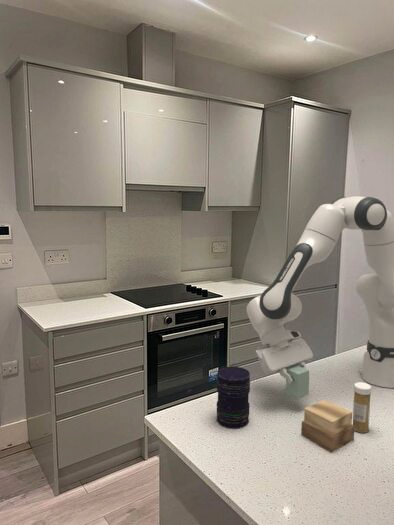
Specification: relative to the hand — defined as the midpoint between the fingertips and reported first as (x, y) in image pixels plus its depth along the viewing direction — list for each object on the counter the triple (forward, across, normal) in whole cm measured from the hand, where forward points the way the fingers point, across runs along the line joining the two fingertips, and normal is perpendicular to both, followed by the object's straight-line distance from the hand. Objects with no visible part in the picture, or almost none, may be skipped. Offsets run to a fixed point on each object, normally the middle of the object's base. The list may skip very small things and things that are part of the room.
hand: (299, 379), depth 127 cm
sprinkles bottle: (+20, +6, -6) cm, 22 cm away
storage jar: (+2, -22, +12) cm, 25 cm away
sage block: (+3, 0, +4) cm, 5 cm away
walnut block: (+18, -6, -4) cm, 20 cm away
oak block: (+15, -6, -7) cm, 18 cm away
